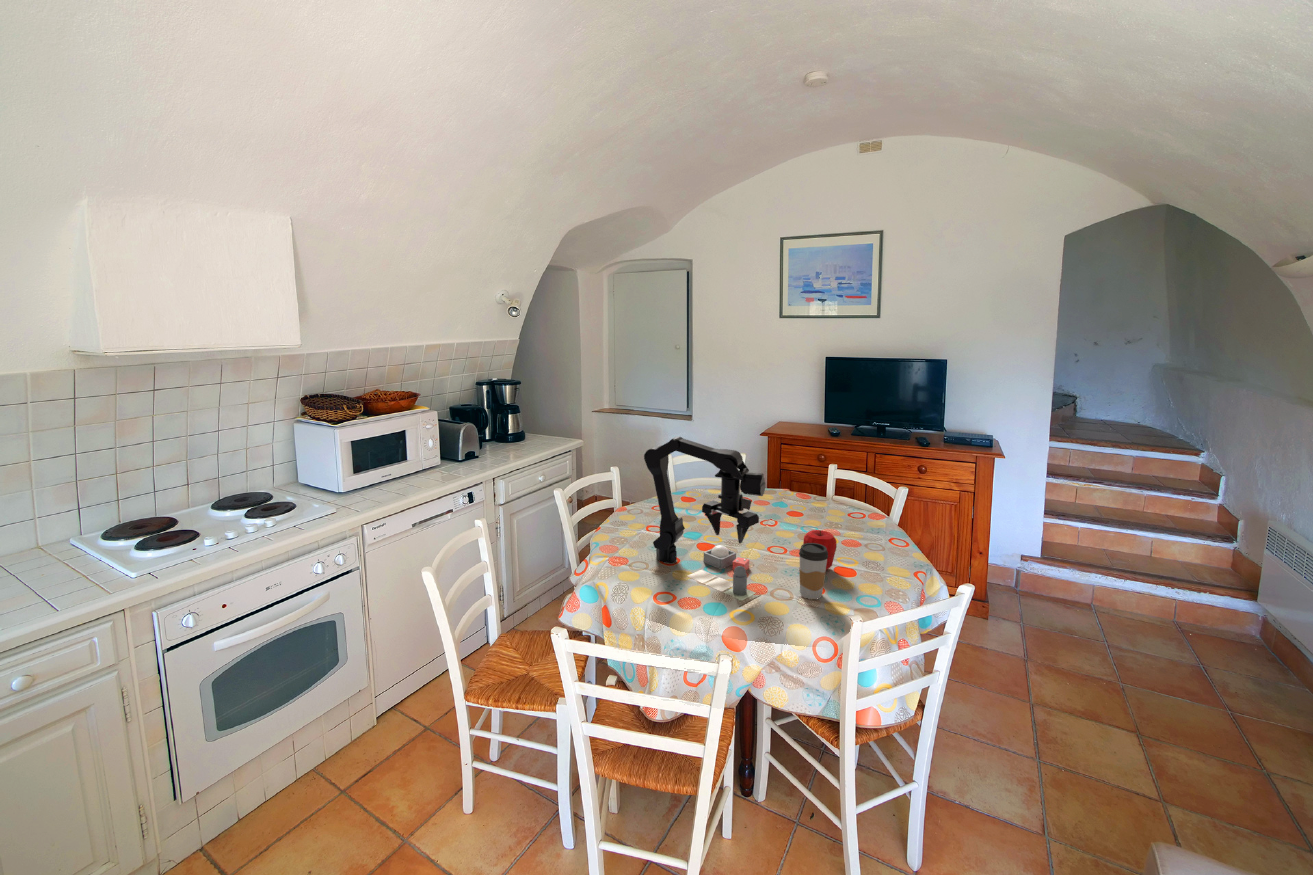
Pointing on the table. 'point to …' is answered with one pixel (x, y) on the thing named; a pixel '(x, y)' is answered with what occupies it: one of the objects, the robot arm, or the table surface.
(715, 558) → the dome housing
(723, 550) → the dome
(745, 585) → the pawn
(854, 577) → the table surface
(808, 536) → the apple
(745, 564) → the red die
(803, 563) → the coffee cup
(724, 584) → the game board
